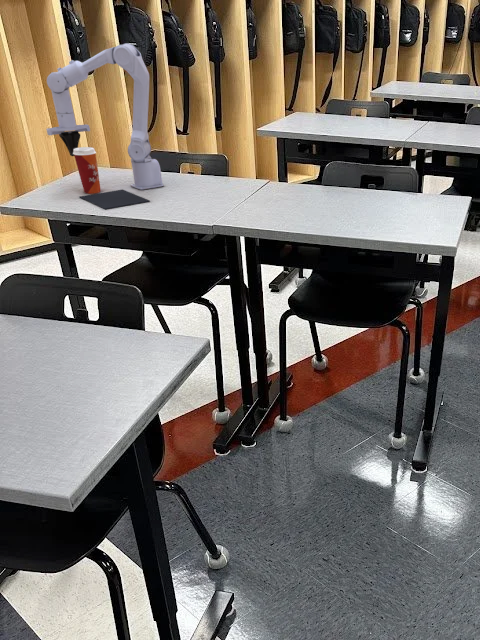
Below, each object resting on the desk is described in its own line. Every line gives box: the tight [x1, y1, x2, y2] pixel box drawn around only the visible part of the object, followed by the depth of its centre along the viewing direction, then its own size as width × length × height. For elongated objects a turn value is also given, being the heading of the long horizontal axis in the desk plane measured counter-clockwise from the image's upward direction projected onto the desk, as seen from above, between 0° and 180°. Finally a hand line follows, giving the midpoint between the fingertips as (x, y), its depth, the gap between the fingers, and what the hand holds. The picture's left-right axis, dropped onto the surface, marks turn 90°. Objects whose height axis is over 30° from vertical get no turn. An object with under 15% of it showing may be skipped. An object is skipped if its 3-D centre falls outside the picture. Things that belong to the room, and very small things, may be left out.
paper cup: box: [73, 146, 102, 195], centre depth 228 cm, size 8×8×14 cm
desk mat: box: [79, 188, 151, 210], centre depth 224 cm, size 16×20×1 cm
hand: (74, 155), depth 232 cm, fingers closed
